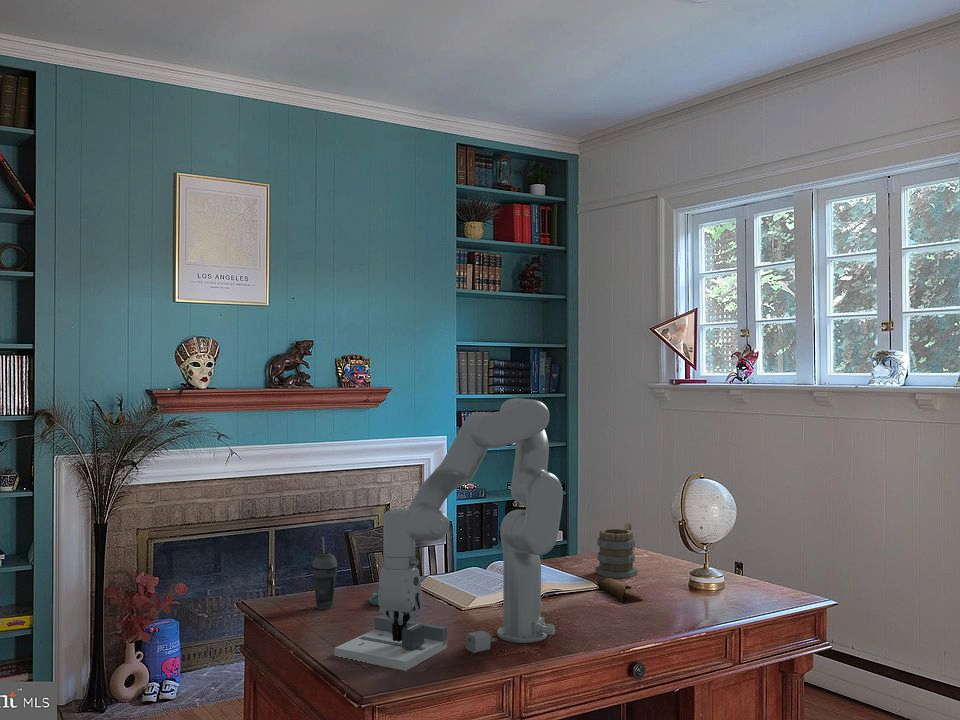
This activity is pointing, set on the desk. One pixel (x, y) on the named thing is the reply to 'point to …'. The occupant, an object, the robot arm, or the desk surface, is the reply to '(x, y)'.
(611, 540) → the tankard
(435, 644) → the console
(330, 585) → the beverage cup
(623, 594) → the sunglasses case
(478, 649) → the usb wall charger
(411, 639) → the fader knob
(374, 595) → the stuffed animal
